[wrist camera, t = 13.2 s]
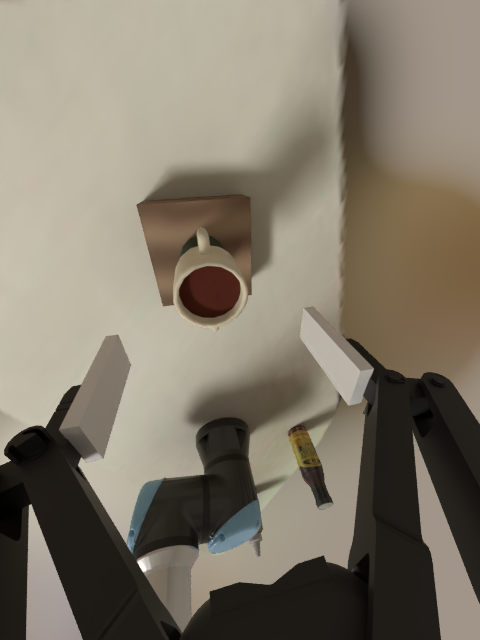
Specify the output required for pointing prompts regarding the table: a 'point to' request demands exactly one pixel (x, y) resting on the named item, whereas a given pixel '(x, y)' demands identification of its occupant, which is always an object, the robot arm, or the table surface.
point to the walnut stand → (195, 232)
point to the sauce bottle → (310, 465)
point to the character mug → (208, 283)
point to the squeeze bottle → (257, 540)
